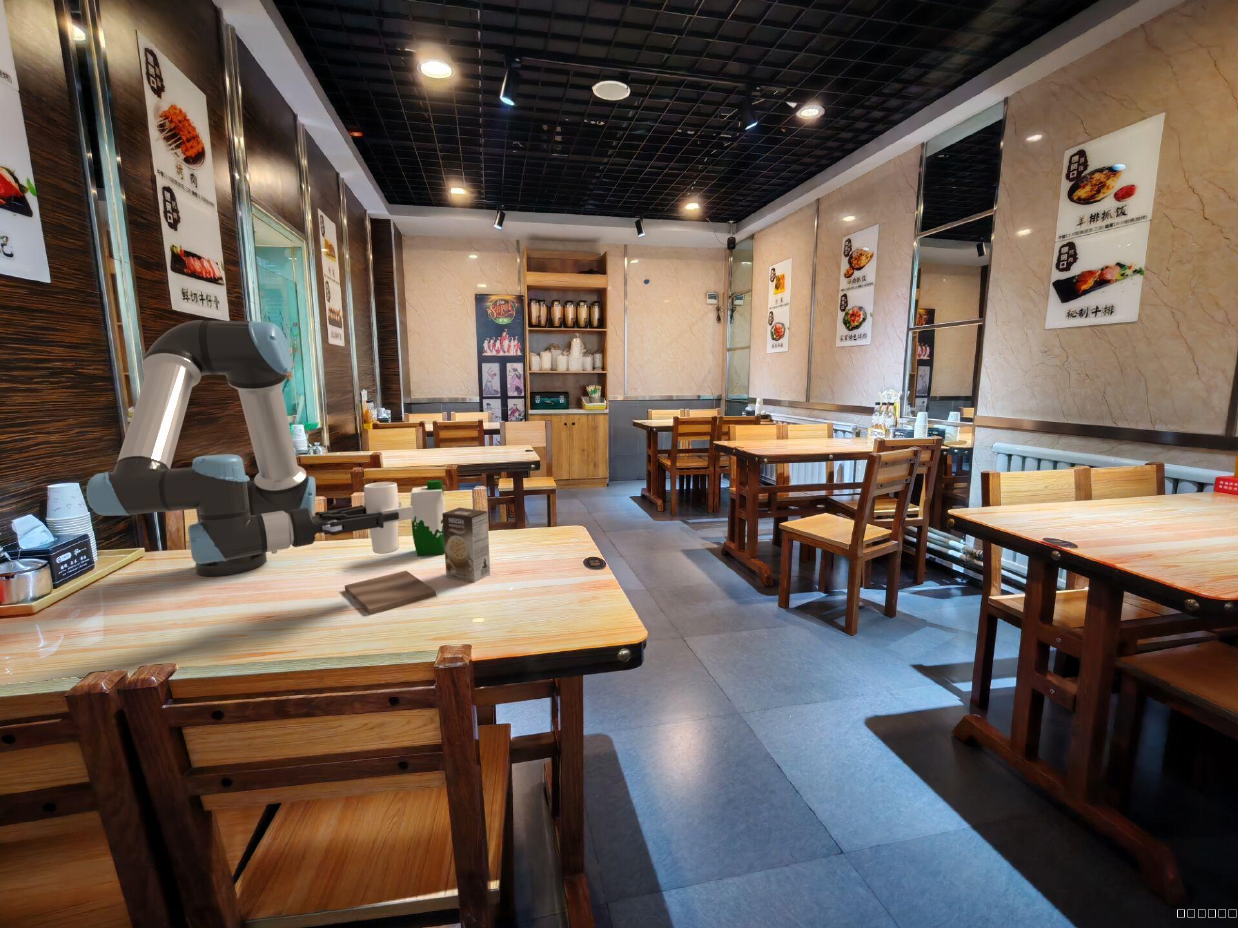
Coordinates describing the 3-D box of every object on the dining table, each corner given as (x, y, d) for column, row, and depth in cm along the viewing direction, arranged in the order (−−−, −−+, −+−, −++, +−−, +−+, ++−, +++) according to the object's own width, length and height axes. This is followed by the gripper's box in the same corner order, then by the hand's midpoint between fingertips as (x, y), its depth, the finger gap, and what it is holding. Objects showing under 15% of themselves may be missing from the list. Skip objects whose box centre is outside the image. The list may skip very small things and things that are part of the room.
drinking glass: (390, 556, 116) (384, 487, 113) (362, 555, 117) (356, 487, 115) (408, 547, 122) (403, 482, 120) (382, 545, 124) (376, 481, 121)
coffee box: (444, 577, 131) (440, 512, 128) (462, 569, 136) (458, 507, 134) (474, 582, 127) (470, 516, 124) (492, 573, 133) (488, 510, 130)
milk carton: (448, 554, 148) (443, 483, 145) (413, 558, 145) (407, 485, 142) (448, 545, 156) (443, 477, 153) (415, 549, 154) (409, 480, 151)
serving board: (345, 590, 124) (344, 585, 123) (406, 575, 133) (406, 570, 132) (369, 614, 110) (369, 609, 110) (436, 595, 119) (436, 590, 119)
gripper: (281, 537, 114) (392, 518, 129) (301, 558, 100) (424, 534, 115) (277, 503, 113) (390, 487, 128) (297, 519, 99) (421, 499, 114)
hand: (406, 509), depth 122 cm, fingers closed on drinking glass, 6 cm apart
